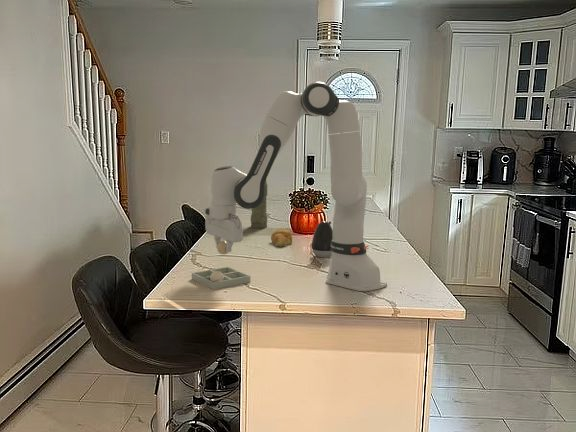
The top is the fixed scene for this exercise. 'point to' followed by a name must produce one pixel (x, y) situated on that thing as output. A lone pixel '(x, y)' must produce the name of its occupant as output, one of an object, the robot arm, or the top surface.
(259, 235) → the top surface
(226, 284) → the carton
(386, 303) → the top surface
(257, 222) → the thermos
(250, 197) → the robot arm
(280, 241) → the croissant
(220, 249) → the brown egg
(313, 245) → the pump dispenser
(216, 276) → the pale egg
